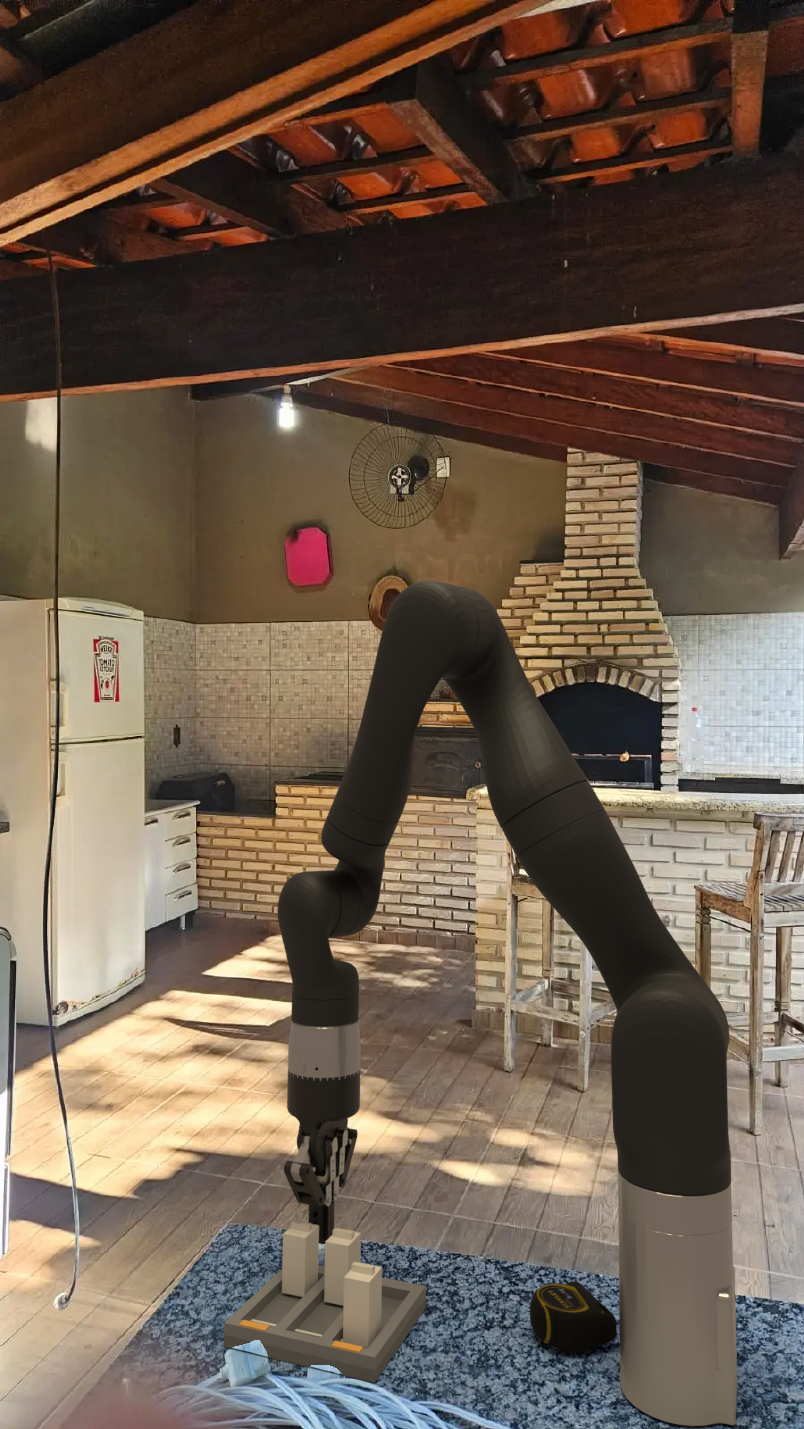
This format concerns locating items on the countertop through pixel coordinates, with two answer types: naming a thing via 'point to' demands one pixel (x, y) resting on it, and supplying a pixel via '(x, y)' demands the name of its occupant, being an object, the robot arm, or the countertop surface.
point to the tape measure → (570, 1318)
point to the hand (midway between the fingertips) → (321, 1239)
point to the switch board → (324, 1326)
